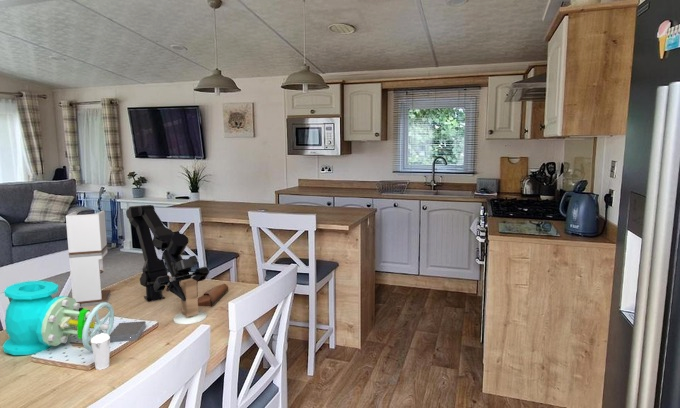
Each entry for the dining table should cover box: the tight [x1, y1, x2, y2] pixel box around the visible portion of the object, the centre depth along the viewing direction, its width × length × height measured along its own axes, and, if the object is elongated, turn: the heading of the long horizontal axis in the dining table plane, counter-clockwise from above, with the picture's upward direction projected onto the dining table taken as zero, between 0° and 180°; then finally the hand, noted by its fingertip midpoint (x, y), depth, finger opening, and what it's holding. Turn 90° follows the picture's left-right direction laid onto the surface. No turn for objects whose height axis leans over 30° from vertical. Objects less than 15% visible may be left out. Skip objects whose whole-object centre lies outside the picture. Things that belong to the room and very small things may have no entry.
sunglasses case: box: [198, 283, 229, 308], centre depth 165 cm, size 18×7×7 cm
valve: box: [2, 280, 115, 356], centre depth 122 cm, size 14×18×30 cm
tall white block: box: [65, 210, 112, 308], centre depth 160 cm, size 11×11×35 cm
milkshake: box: [88, 332, 111, 371], centre depth 111 cm, size 5×5×10 cm
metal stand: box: [109, 320, 147, 343], centre depth 132 cm, size 10×8×2 cm
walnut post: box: [179, 279, 199, 317], centre depth 144 cm, size 4×4×12 cm
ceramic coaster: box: [173, 310, 208, 326], centre depth 145 cm, size 11×11×1 cm
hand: (191, 298), depth 143 cm, fingers closed on walnut post, 4 cm apart
